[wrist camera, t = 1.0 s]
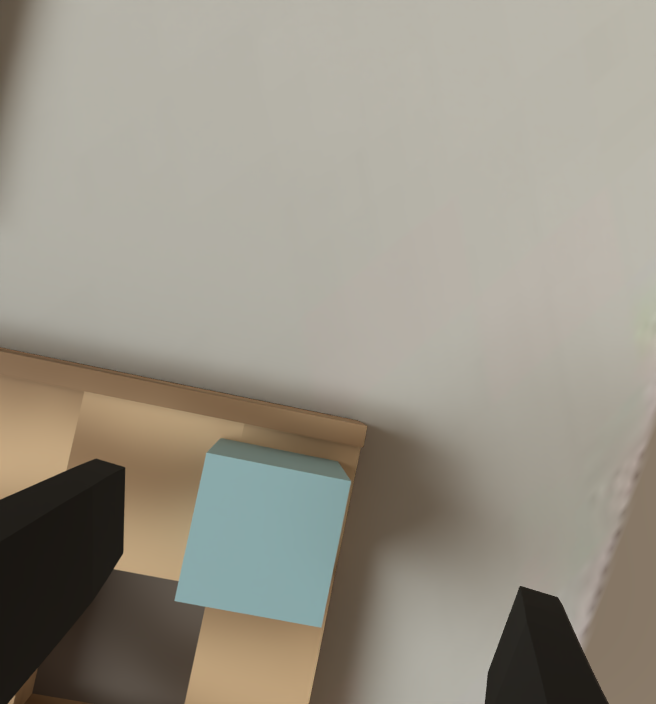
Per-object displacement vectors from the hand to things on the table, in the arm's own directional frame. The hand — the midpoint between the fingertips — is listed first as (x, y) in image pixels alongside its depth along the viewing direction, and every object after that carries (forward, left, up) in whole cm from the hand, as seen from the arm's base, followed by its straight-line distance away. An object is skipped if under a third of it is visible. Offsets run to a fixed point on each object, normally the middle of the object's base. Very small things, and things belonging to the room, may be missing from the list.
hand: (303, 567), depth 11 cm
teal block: (-2, +1, -13) cm, 13 cm away
